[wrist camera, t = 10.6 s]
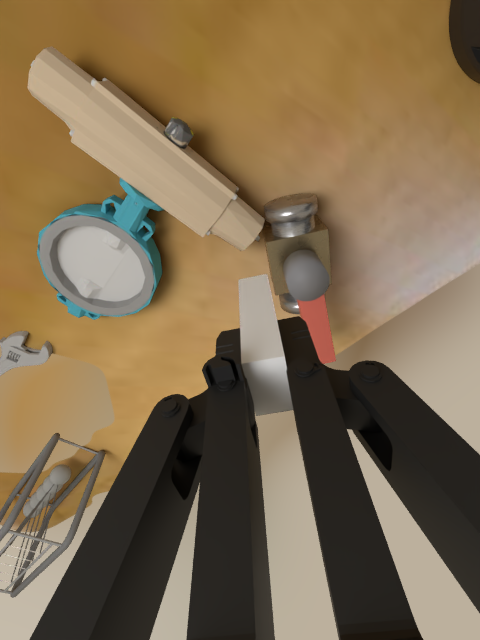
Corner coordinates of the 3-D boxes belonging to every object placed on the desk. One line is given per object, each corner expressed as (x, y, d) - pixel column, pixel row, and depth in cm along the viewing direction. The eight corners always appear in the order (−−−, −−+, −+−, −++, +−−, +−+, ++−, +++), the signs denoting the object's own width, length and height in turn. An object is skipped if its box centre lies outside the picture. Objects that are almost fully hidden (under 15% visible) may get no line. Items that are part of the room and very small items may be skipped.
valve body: (257, 201, 40) (261, 216, 34) (314, 188, 39) (328, 201, 33) (274, 294, 47) (280, 319, 41) (322, 284, 46) (334, 309, 40)
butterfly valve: (161, 338, 54) (283, 199, 39) (149, 368, 49) (286, 220, 34) (-5, 243, 45) (71, 11, 30) (-41, 267, 39) (29, -2, 24)
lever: (279, 255, 36) (283, 270, 33) (317, 244, 35) (326, 258, 32) (302, 349, 44) (308, 369, 40) (334, 342, 43) (343, 361, 40)
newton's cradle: (54, 508, 78) (12, 601, 63) (9, 494, 75) (-46, 589, 60) (108, 447, 66) (71, 545, 51) (58, 427, 62) (3, 527, 47)
